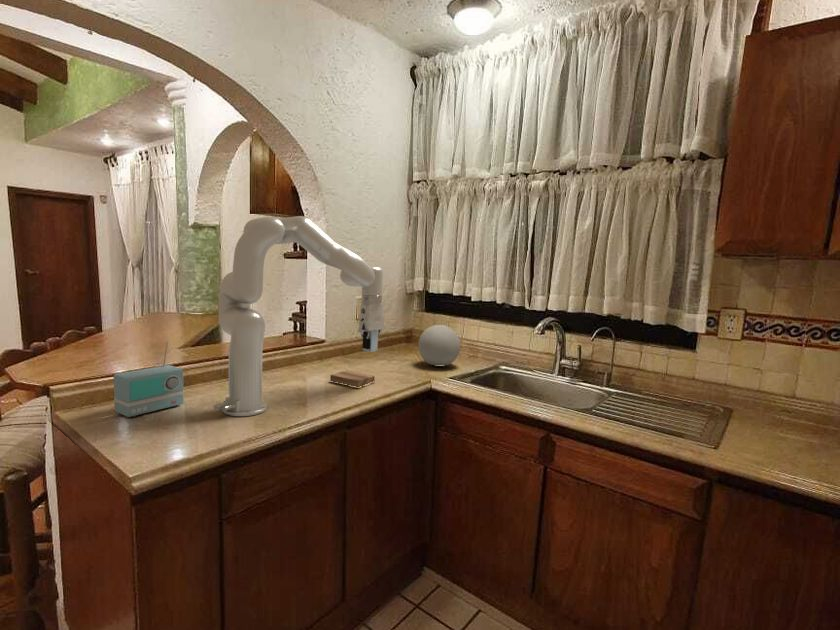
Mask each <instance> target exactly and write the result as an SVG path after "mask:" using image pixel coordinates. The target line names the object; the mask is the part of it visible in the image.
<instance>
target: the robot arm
mask: <svg viewBox="0 0 840 630" xmlns="http://www.w3.org/2000/svg"><path fill="white" fill-rule="evenodd" d="M291 243H292V244H293V243H294V244H295V243H296V244H298V245H299V246H301V248H303V249H304V250H305V251H306V252H307V253H309V254H310V255H311V256H313V257H314V259H316V260H317V261H318V262H320V263H322V264H324V265H327V266H330V267H332V268H335V269H338V270H340V274H339V277H340V280H341V282H342V283H343V284H344V285H346V286H349V287H357V288H361V304H360V309H359V316H358V329H357V332H358V334H360V335H361V338H362V349H363V348H364V349H370V339H369V337H370V331H374V330H378V338H379V337H380V333H381V331H382V329H383V328H384V325H385V324H384V323H385V322H384V318H385V315H384V305H383V303H382V300H383V299H382V297H383V275H384V274H383V269H382V268H381V267H379V266H378V267H376V266H371V265H369V264H368V263H367V262H366V261H365V260H364V259H363V258H361V257H360V256H359V255H357V254H356V253H354V252H352V251H351V250H350V249H348V248H346V247H345V246H343V245H341V244H339V243H337V242H336V241H335V240H334V239H332V238H331V237H330V236H329V235H328V234H327V233H326V232H324V231H323V230H322V228H320V227H319V226H318V225H317V224H316V223H315V222H313V221H312V219H310V218H308V217H306V216H304V215H298V216H297V215H296V216H290V217H289V216H286V217H280V218H279V217H278V218H277V217H272V216H267V217H265V216H264V217H260V218H253V219H250V220H249V221H247V222H246V223H245V225H244V227H243V233H242V234H241V235H240V237H239V239H238V240H237V242H236V245H235V247H234V252H233V260H232V261H233V263H232V271H231V272H229V273H227V274H226V275H224V277H223V278H222V280H221V282H220V286H219V295H218V324H219V326H220V329H221V330H222V331H223V332H224V333H226V334H228V335H230V342H229V347H228V396H226V397H225V400H223V402H218V403H216V404H213V410H214V411H215V412H217V411H220V410H222V412H223V413H224V414H225V415H227V416H230V417H231V416H232V417H250V416H256V415H260V414H262V413H264V412H265V411H267V409H268V404H267V402H265V401H263V346H264V339H265V332H266V323H265V320H264V317H263V316H262V315H261V313H259V312H258V310H257V311H256V310H255V309H252V308H251V304H254V303H257V302H258V301H260V299H261V298H262V295H263V292H264V291H263V290H264V269H265V268H264V267H265V266H264V265H265V259H266V255H267V253H268V252H269V250H270V249H271V247H273V246H274V245H283V244H291ZM365 329H367V330H365ZM365 331H366V332H367V334H366V332H365Z"/></svg>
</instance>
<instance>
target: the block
mask: <svg viewBox="0 0 840 630" xmlns="http://www.w3.org/2000/svg"><path fill="white" fill-rule="evenodd" d="M365 330H367V329H365ZM365 332H366V331H365ZM366 334H367V332H366ZM369 339H370V349H364V348H363V347H362V351H363V352H369V353H373V352H377V351H378V347H379V346H378V345H379V337H378V330H374V331H370V337H369Z"/></svg>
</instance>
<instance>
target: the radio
mask: <svg viewBox="0 0 840 630" xmlns="http://www.w3.org/2000/svg"><path fill="white" fill-rule="evenodd" d="M168 343H169V341H168V340H167V341H166V344H165V348H164V349H165V351H164V358H163V365H161V366H154V367H150V368H145V369H144V368H143V369H137V370H132V371H126V372H118V373H114V374H113V398H114V412H116V413H118V414H120V415H122V416H125V417H127V418H137V417H138V416H139V415H144V414H146V413H151V412H155V411H159V410H163V409H167V408H177V407H178V406H180V405H183V404H184V369H183V368H181V367H177V366H173V365H169V364H167V365H165V364H166V359H167V358H166V357H167V351H168V349H167V348H168Z"/></svg>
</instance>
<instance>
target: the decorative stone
mask: <svg viewBox="0 0 840 630" xmlns="http://www.w3.org/2000/svg"><path fill="white" fill-rule="evenodd" d="M460 351H461V341H460V337H459V336H458V333H457V332H456V331H455V330H454V329H452V328H451V327H449V326H447V325H444V324H435V325H431V326H428V327H427V328H426V329H425V330H423V332H422V333H421V335H420V337H419V339H418V352H419V355H420V357H421V359H422V360H423V361H424V362H425V363H426V364H428V365H430V364H431V365H430V366H432V365H447V366H449V365H451V364H453V362H455V360H457V358H458V357H459V355H460Z"/></svg>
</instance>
